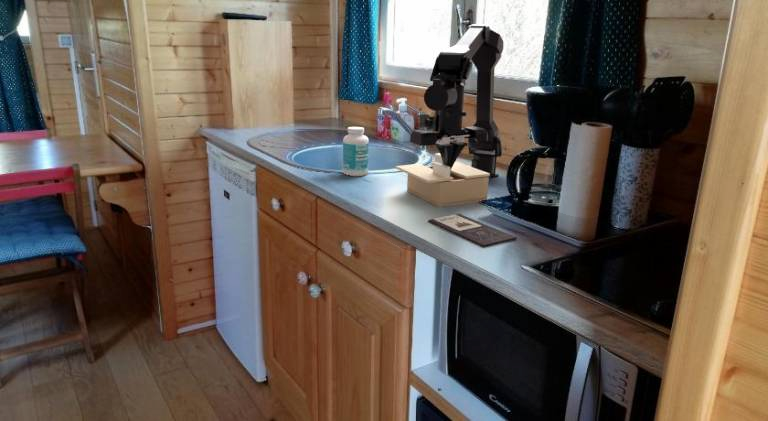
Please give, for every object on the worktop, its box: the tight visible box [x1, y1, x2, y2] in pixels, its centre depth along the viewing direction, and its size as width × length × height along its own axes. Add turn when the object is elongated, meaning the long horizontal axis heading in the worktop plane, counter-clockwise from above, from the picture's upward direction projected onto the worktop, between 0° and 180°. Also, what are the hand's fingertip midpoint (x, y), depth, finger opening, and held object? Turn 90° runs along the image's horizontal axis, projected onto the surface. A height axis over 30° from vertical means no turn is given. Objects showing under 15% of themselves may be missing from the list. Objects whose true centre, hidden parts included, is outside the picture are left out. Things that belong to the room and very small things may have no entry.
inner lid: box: [430, 152, 490, 179], centre depth 148 cm, size 7×16×3 cm, turn 27°
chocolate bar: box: [427, 213, 518, 248], centre depth 123 cm, size 9×1×18 cm
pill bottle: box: [342, 126, 370, 177], centre depth 167 cm, size 8×7×14 cm
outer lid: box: [395, 161, 453, 183], centre depth 143 cm, size 7×16×3 cm, turn 27°
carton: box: [406, 165, 490, 208], centre depth 147 cm, size 14×16×6 cm
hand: (447, 170), depth 141 cm, fingers closed
